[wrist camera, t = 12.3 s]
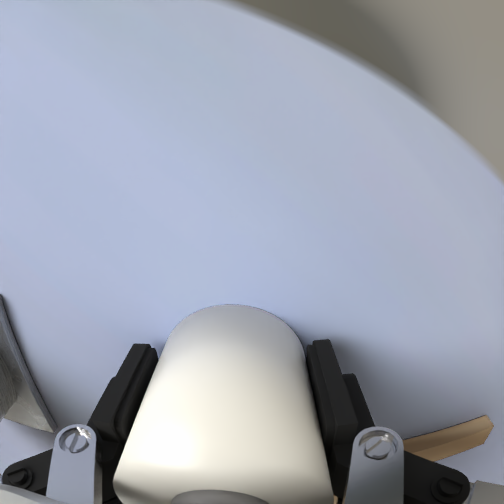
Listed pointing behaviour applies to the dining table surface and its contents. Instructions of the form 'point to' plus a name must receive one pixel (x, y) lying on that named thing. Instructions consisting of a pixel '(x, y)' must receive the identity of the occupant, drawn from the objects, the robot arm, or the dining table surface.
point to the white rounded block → (227, 418)
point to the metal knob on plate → (19, 384)
